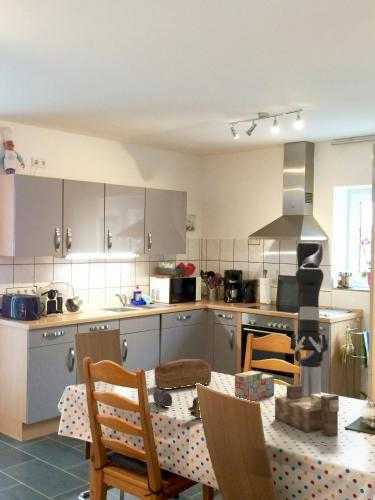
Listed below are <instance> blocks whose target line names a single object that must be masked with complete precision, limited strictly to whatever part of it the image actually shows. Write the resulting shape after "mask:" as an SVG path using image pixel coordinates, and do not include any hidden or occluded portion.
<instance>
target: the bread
mask: <svg viewBox="0 0 375 500" xmlns="http://www.w3.org/2000/svg"><path fill="white" fill-rule="evenodd" d="M211 381H212V366H211V365H210V364H209V363H208V362H207V361H206V360H203V359H201V358H198V359H197V358H180V359H179V358H178V359H175V360H171V361H167V362H163V363H160V364H158V365H157V366H155V369H154V385H155V386H156V387H157V386H158V387H157V388H159V387H161V388H174V387H181V386H187V385H195V384H196V383H200V384H206V383H209V384H211ZM206 385H207V384H206Z"/></svg>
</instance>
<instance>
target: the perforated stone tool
mask: <svg viewBox="0 0 375 500" xmlns="http://www.w3.org/2000/svg"><path fill="white" fill-rule="evenodd" d="M152 397H153V401H154V403H155V402H156V405H158V404H159V405H160V406H159V405H158V406H159V407H162V406H163V407H162V408H164V407H165V406H170V407H171V406H172V404H173V397H172V395H171V394H170V393H169V391H166V390H164V389H157V390H155V391H154V392H153V396H152Z"/></svg>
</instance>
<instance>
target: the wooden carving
mask: <svg viewBox="0 0 375 500" xmlns="http://www.w3.org/2000/svg"><path fill="white" fill-rule="evenodd" d="M187 410H188V411H190V412H189V415H190V416H192V417H194V418H196V419H199V418H200V410H199V403H198V397H197V396H196V397H194V398H193V400H192V406H189V407H188V408H187Z"/></svg>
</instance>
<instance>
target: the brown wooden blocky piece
mask: <svg viewBox="0 0 375 500" xmlns="http://www.w3.org/2000/svg"><path fill="white" fill-rule="evenodd" d="M322 395H323V394H322ZM329 399H336V400H339V395H338V394H334V393H330V394H324V395H323V396H321V410H316V411H310V412H305V411H303V410H300V409H298V408H295V407H292V406H290V405H287V404H285V403H282V402H280V401H277V400H275V399H274V420H275V421H278V422H281V423H282V424H285V425H287V426H290V427H292V428H295V429H297V430H300V431H302V432H303V433H306V434H309V433H313V432H318V431H322V432H321V435H322V436H324V437H326V438H330V437H335V436H338V435H339V434H338V431H339V429H338V428H339V424H338V422H339V421H338V418H339V417H338V415H339V413H338V412H339V411H336V412H331V411H329ZM339 401H340V400H339Z"/></svg>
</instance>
